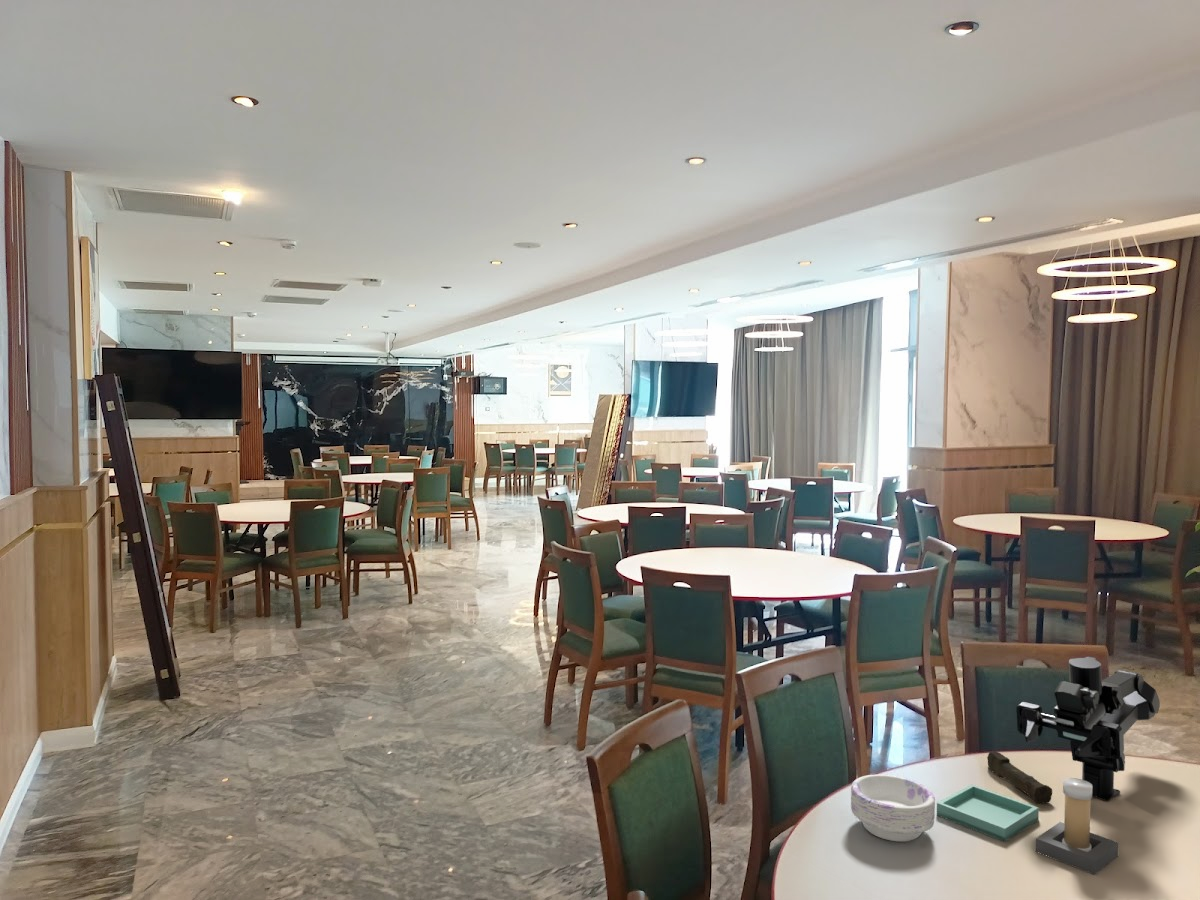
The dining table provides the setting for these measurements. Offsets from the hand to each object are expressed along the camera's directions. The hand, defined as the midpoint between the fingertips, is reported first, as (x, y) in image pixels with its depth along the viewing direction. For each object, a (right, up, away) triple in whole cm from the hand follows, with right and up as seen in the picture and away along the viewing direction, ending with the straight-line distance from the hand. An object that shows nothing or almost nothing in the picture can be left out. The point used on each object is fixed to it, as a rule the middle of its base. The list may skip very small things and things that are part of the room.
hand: (1051, 746), depth 159 cm
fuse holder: (0, -17, -8) cm, 18 cm away
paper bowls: (-30, -17, +2) cm, 34 cm away
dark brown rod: (+3, -16, +21) cm, 27 cm away
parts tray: (-9, -16, +6) cm, 20 cm away
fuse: (0, -17, -8) cm, 18 cm away
